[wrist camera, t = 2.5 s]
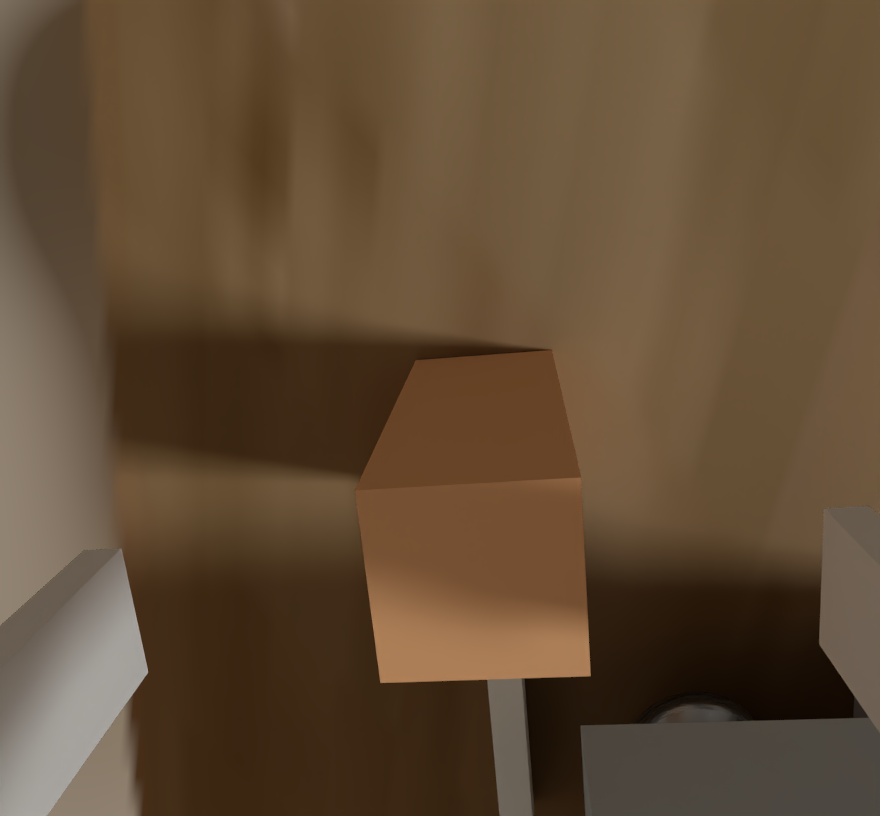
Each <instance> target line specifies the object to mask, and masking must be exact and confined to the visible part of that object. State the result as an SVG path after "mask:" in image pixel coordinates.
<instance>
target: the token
mask: <svg viewBox="0 0 880 816" xmlns="http://www.w3.org/2000/svg"><path fill="white" fill-rule="evenodd" d="M730 721H755V720H754V718H753V717H752V716H751V714H750V713H749V712H748V711H747V710H746V709H744V708H743V707H742V706H741V705H739V704H738V703H736V702H734V701H733V700H730V699H728V698H726V697H723V696H720V695H716V694H711V693H704V692H690V693H683V694H678V695H674V696H671V697H668V698H666V699H663V700H661V701H660V702H658V703H656V704H654V705H653V706H652V707H650V708H649V709H648V710H647V711H645V712H644V713H643V714H642V716H641V717H640V718H639V719H638V720H637V722H636V724H655V723H692V722H730Z"/></svg>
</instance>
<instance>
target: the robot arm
mask: <svg viewBox="0 0 880 816" xmlns="http://www.w3.org/2000/svg"><path fill="white" fill-rule="evenodd" d="M819 645H820V646H821V648H822V649H823V651H824V652H825V654H826V655H827V657H828V658H829V659H830V661H831V662H832V664H833V665H834V667H835V668H836V670H837V671H838V673H839V674H840V676H841V677H842V679H843V680H844V681H845V683H846V684H847V686H848V687H849V689H850V690H851V692H852V693H853V695H854V696H855V698H856V699H857V701H858V702H859V703H860V705H861V706H862V708H863V709H864V711H865V712H866V714H867V715H868V717H869V718H870V720H871V721H872V723H873V724H874V725H875V727H876V728H877V730H878V731H879V733H880V515H878V514H877V513H876V512H875V511H874V510H873V509H872V508H871V507H870V506H855V507H838V508H824V522H823V550H822V577H821V604H820V632H819ZM147 674H148V668H147V664H146V659H145V654H144V650H143V645H142V641H141V636H140V631H139V627H138V622H137V618H136V613H135V608H134V604H133V599H132V595H131V590H130V585H129V581H128V576H127V571H126V567H125V562H124V558H123V553H122V548H117V549H100V550H84V551H83V552H82V553H80V554H79V555H78V556H77V557H76V558H75V559H74V560H73V561H71V562H70V563H69V564H68V565H67V566H66V567H65V568H64V569H63V570H62V571H60V572H59V573H58V574H57V575H56V576H55V577H54V578H53V579H52V580H50V581H49V582H48V583H47V584H46V585H45V586H44V587H43V588H42V589H41V590H40V591H38V592H37V593H36V594H35V595H34V596H33V597H32V598H31V599H29V600H28V601H27V602H26V603H25V604H24V605H23V606H22V607H21V608H20V609H18V611H16V612H15V613H14V614H13V615H12V616H11V617H9V618H8V619H7V620H6V621H5V622H4V623H3V624H2V625H1V626H0V816H47V815H48V814H49V812H50V811H51V810H52V808H53V807H54V805H55V804H56V802H57V801H58V800H59V798H60V797H61V795H62V794H63V793H64V791H65V790H66V788H67V787H68V785H69V784H70V783H71V781H72V780H73V778H74V777H75V776H76V774H77V773H78V771H79V770H80V768H81V767H82V766H83V764H84V763H85V761H86V760H87V759H88V757H89V756H90V754H91V753H92V751H93V750H94V749H95V747H96V746H97V744H98V743H99V742H100V740H101V739H102V737H103V736H104V734H105V733H106V731H107V730H108V729H109V727H110V726H111V724H112V723H113V722H114V720H115V719H116V717H117V716H118V715H119V713H120V712H121V710H122V709H123V708H124V706H125V705H126V703H127V702H128V700H129V699H130V698H131V696H132V695H133V693H134V692H135V691H136V689H137V688H138V686H139V685H140V683H141V682H142V681H143V679H144V678H145V676H146V675H147Z"/></svg>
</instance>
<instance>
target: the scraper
mask: <svg viewBox="0 0 880 816" xmlns="http://www.w3.org/2000/svg"><path fill="white" fill-rule="evenodd" d="M355 496H356V503H357V511H358V518H359V526H360V533H361V541H362V548H363V556H364V563H365V571H366V578H367V586H368V593H369V601H370V608H371V616H372V623H373V631H374V638H375V646H376V653H377V661H378V668H379V676H380V683H397V682H428V681H459V680H487V683H488V694H489V705H490V716H491V728H492V739H493V750H494V761H495V772H496V783H497V794H498V805H499V816H534V798H533V785H532V771H531V758H530V745H529V731H528V718H527V705H526V691H525V678H551V677H582V676H591V671H590V651H589V630H588V610H587V589H586V568H585V548H584V527H583V506H582V486H581V475H580V471H579V466H578V462H577V458H576V453H575V449H574V445H573V440H572V436H571V432H570V427H569V423H568V419H567V414H566V410H565V406H564V401H563V397H562V393H561V388H560V384H559V380H558V375H557V371H556V367H555V362H554V358H553V354H552V350H546V351H532V352H519V353H505V354H492V355H478V356H465V357H451V358H438V359H424V360H416V361H415V363H414V365H413V367H412V369H411V371H410V373H409V376H408V378H407V380H406V382H405V384H404V386H403V388H402V390H401V393H400V395H399V397H398V399H397V401H396V403H395V405H394V408H393V410H392V412H391V414H390V416H389V418H388V420H387V423H386V425H385V427H384V429H383V431H382V433H381V435H380V438H379V440H378V442H377V444H376V446H375V448H374V450H373V453H372V455H371V457H370V459H369V461H368V463H367V465H366V468H365V470H364V472H363V474H362V476H361V478H360V480H359V483H358V485H357V487H356V489H355Z"/></svg>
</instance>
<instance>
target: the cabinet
mask: <svg viewBox="0 0 880 816" xmlns="http://www.w3.org/2000/svg"><path fill="white" fill-rule="evenodd" d="M580 726H581V745H582V763H583V782H584V801H585V816H880V733H879V731H878V730H877V728H876V727H875V725H874V724H873V723H872V721H871V720H870V718H869V717H868V715H867V714H866V712H865V711H864V709H863V708H862V706H861V705H860V703H859V702H858V701H857V699H856V698H855V696H854V713H853V718H842V719H804V720H767V721H730V722H692V723H655V724H618V725H580Z"/></svg>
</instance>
